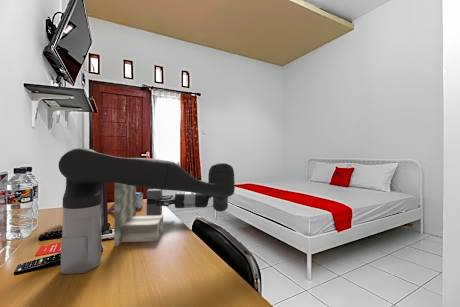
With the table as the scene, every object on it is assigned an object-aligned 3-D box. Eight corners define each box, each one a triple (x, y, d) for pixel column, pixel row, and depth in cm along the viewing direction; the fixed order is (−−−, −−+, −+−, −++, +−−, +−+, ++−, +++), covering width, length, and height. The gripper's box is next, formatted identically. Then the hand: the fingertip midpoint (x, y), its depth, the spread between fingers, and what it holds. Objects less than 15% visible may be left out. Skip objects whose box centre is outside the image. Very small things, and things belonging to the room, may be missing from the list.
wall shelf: (154, 244, 78) (155, 175, 78) (114, 245, 77) (114, 175, 76) (164, 227, 96) (164, 171, 96) (131, 227, 95) (132, 171, 94)
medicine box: (125, 208, 126) (125, 193, 126) (130, 206, 130) (130, 191, 130) (138, 209, 125) (138, 193, 125) (143, 207, 129) (143, 192, 129)
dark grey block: (159, 216, 102) (160, 190, 102) (146, 216, 102) (146, 190, 102) (161, 214, 107) (162, 188, 107) (148, 214, 106) (149, 189, 106)
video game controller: (121, 218, 112) (127, 205, 115) (113, 216, 109) (119, 202, 112) (113, 214, 119) (119, 202, 121) (105, 212, 116) (112, 199, 118)
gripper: (187, 189, 113) (152, 189, 111) (184, 195, 99) (144, 195, 97) (186, 204, 113) (152, 204, 111) (184, 212, 99) (144, 212, 97)
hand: (148, 200), depth 104 cm, fingers closed on dark grey block, 4 cm apart
